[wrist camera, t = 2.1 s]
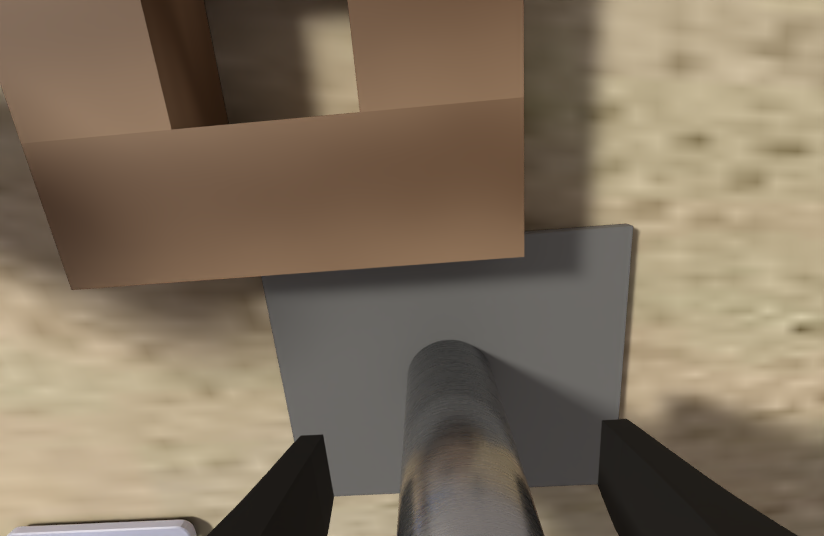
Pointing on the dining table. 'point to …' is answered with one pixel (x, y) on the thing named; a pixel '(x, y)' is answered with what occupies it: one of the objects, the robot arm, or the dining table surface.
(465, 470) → the peg
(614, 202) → the dining table surface
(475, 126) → the hole block
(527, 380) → the mat
